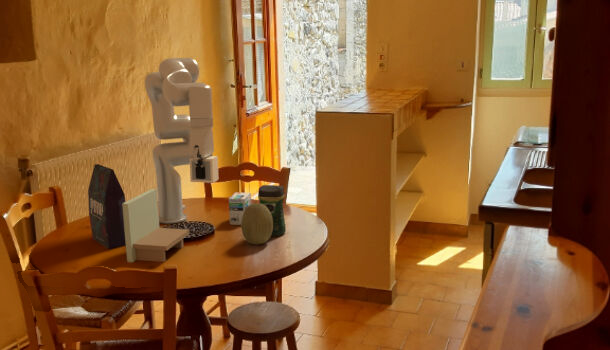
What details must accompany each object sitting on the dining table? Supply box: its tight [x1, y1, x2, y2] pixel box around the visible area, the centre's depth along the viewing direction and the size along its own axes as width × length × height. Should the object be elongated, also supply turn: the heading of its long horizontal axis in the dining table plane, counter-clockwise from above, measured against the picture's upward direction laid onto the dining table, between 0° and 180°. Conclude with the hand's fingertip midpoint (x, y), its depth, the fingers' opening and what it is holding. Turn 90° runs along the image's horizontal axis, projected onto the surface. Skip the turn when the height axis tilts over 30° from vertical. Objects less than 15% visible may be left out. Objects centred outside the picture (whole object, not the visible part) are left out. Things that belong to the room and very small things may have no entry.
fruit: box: [240, 202, 273, 246], centre depth 212 cm, size 11×11×15 cm
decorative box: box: [87, 163, 126, 250], centre depth 216 cm, size 8×16×28 cm, turn 40°
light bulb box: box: [228, 191, 252, 226], centre depth 240 cm, size 11×7×11 cm, turn 171°
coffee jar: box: [257, 184, 287, 237], centre depth 223 cm, size 10×8×19 cm
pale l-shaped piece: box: [122, 188, 190, 263], centre depth 203 cm, size 20×14×20 cm
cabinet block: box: [189, 155, 220, 184], centre depth 200 cm, size 5×8×8 cm, turn 77°
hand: (204, 176), depth 200 cm, fingers closed on cabinet block, 5 cm apart
